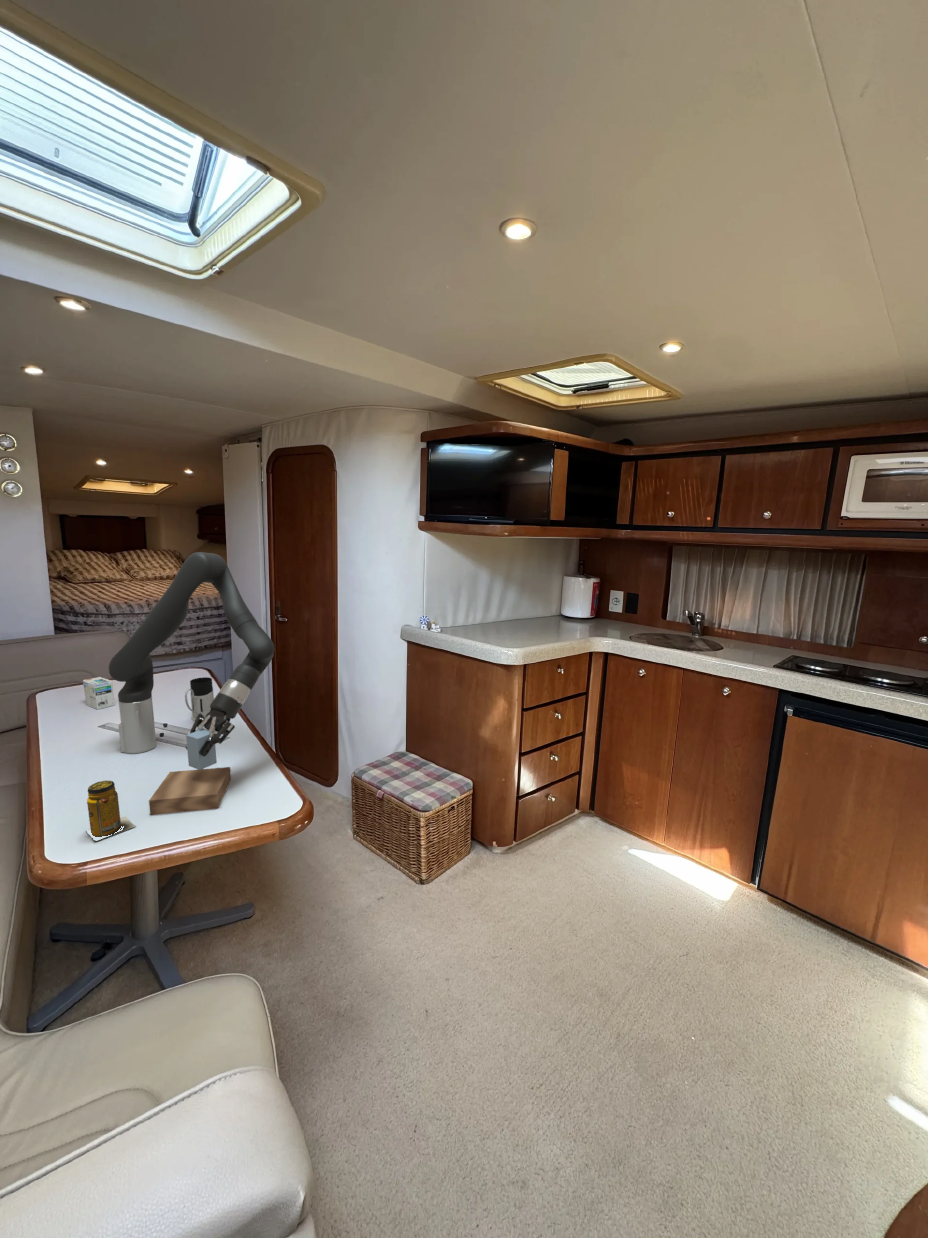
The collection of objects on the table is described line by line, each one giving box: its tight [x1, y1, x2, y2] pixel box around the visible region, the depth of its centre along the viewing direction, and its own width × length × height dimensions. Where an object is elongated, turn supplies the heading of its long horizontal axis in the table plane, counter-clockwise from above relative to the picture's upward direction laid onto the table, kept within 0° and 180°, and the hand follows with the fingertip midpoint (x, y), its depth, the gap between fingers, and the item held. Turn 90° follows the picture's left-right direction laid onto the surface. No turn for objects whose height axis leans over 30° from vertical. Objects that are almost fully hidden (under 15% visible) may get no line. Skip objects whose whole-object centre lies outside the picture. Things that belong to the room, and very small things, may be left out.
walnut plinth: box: [148, 766, 232, 816], centre depth 140 cm, size 16×16×4 cm
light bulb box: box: [82, 676, 116, 710], centre depth 209 cm, size 11×7×11 cm, turn 58°
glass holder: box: [184, 676, 215, 722], centre depth 195 cm, size 9×14×15 cm, turn 174°
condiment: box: [86, 780, 136, 837], centre depth 124 cm, size 7×8×12 cm
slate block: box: [185, 730, 218, 770], centre depth 141 cm, size 5×5×9 cm
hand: (195, 752), depth 140 cm, fingers closed on slate block, 5 cm apart
